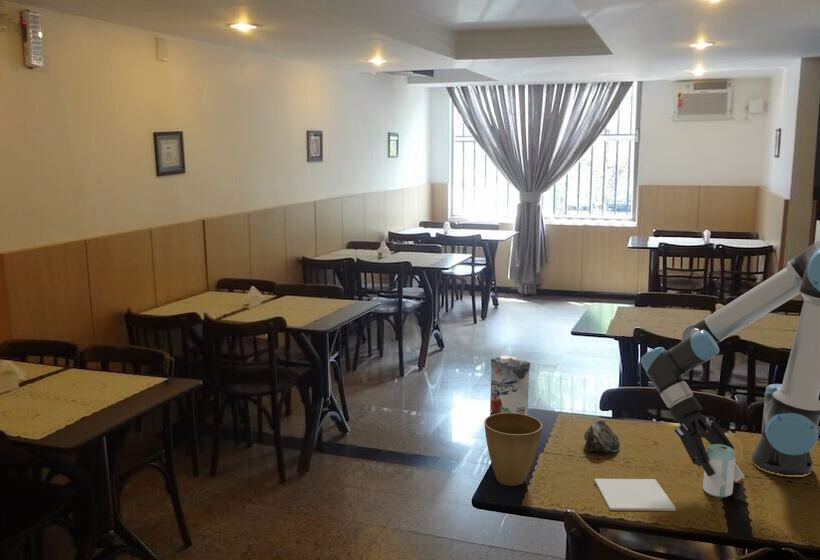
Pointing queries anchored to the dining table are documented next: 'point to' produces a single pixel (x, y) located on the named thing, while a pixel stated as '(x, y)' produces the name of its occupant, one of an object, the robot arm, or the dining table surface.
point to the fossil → (601, 438)
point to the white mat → (634, 494)
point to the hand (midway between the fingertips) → (731, 482)
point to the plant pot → (512, 445)
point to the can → (720, 469)
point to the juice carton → (509, 385)
